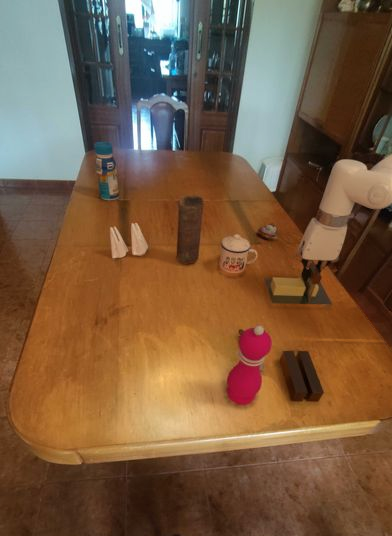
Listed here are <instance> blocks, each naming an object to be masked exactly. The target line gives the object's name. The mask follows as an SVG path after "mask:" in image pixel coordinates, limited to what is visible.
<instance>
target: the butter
mask: <svg viewBox="0 0 392 536" xmlns="http://www.w3.org/2000/svg"><path fill="white" fill-rule="evenodd" d="M271 279H272V282H271V285H270V287H271V290H272V293H273V295H286V296H303V294H304V291H305V289H306V286H305V284H304V282H303V280H302V278H301V277H276V276H275V277H272V278H271Z"/></svg>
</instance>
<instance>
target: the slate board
mask: <svg viewBox="0 0 392 536" xmlns="http://www.w3.org/2000/svg"><path fill="white" fill-rule="evenodd" d="M264 282H265V285H266V286H265V287H266V288H267V292H268V295H269V298H270V301H271V303H272V304H288V305H289V304H292V305H325V306H332V305H333V303H332V301H331V299H330V298H329V296H328V293H327V291H326V290H325V288H324V286H323V284H322V282H321V281H320V283H319V284H317V285H318V287H319V289H318V291H317V294H316V296H311V298H310V301H308V300H307V298H306V295H305V293H304V294H303V296H286V295H273V293H272V290H271V287H270V285H271V282H272V278H264Z"/></svg>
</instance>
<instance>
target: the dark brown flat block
mask: <svg viewBox="0 0 392 536" xmlns="http://www.w3.org/2000/svg"><path fill="white" fill-rule="evenodd" d="M315 264H316V263H315V260H313V262H312V264H311V267H310V269H311V272H310V275H309V278H308V280H307V281H306V282H304V280H303V278H302V276H301V275H300V278H302V280H303V282H304V284H305V286H306V289H305V291H304V293H305V295H306V298H307V300H308V301H310V298H311V296H312V293H313V291H314V288H315V286H316V284H319V283H320V282H321V281H322V277H323V276H322V274H321V273H319V271H318V269H317V267H316V265H315ZM302 266H303V267H304V265H303V264H302Z"/></svg>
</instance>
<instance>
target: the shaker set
mask: <svg viewBox="0 0 392 536" xmlns="http://www.w3.org/2000/svg"><path fill="white" fill-rule="evenodd" d="M109 235H110V236H109V237H110V239H109V240H110V248H111V249H110V250H111V257H112V259H118V258H119V259H121V258H124V257H125V256H126V255H127V253H128V252H129V249H128V246H127V244H126V243H125V240H124V239H123V237H122V235H121V233H120V231H119V230H118V229H117V227H116V226H113V227H112V226H111V227H110V228H109ZM130 236H131V237H130V238H131V253H132V254H131V255H133V256H138V257H143V256H144V255H146V252H147V250H148V249H149V245H148V243H147V241H146V238H145V236H144V234H143V233H142V230H141V227H140V226H139V224H138V222H134V223H133V222H132V223H131V225H130Z"/></svg>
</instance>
